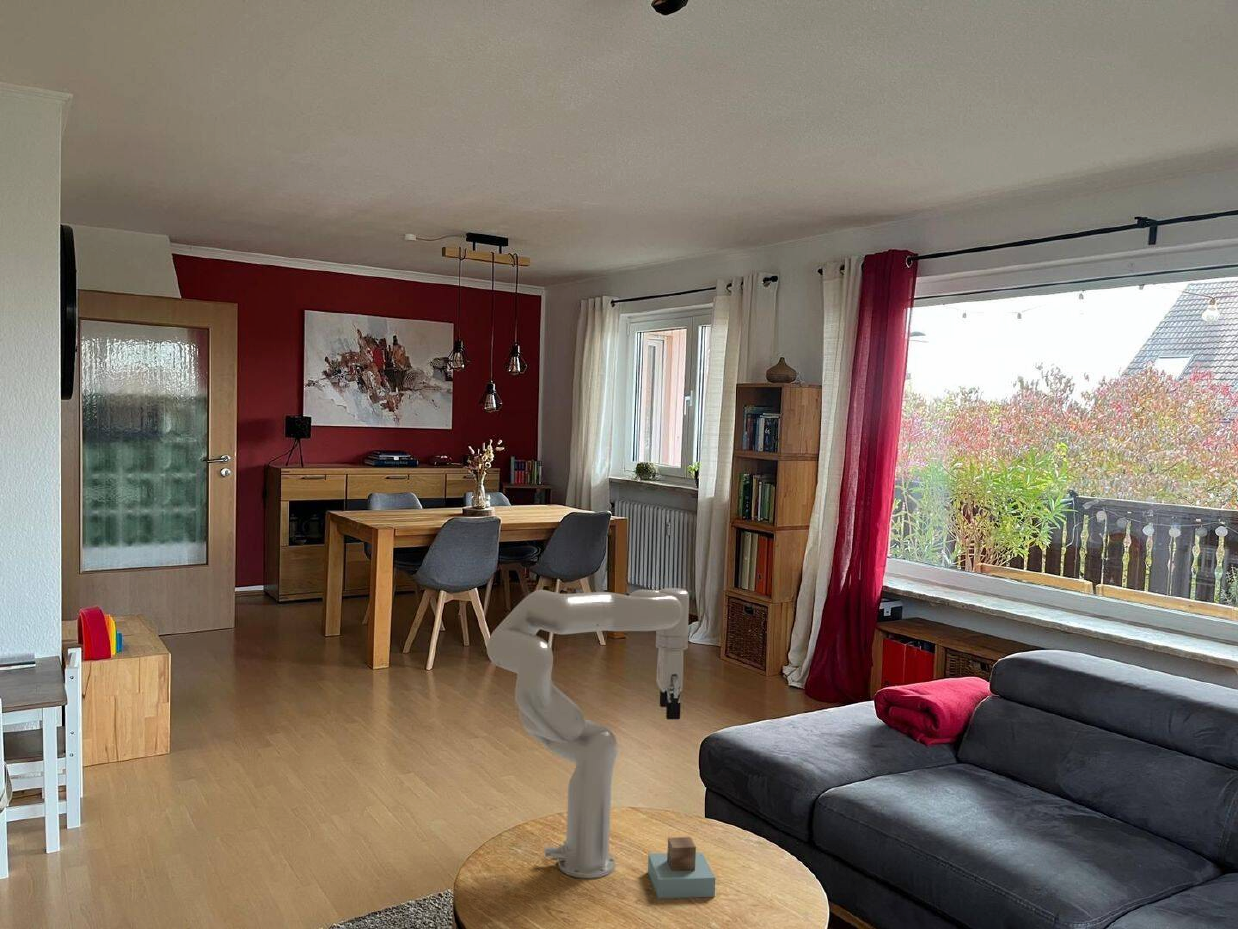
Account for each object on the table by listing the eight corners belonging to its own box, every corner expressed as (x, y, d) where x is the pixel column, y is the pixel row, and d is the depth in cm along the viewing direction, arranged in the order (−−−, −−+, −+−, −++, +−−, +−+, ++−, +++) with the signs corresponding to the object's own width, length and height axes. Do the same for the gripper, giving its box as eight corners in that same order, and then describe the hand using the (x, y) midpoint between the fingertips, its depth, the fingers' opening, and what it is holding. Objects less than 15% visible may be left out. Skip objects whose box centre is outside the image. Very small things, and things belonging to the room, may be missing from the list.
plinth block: (657, 898, 193) (658, 879, 193) (647, 872, 205) (648, 854, 205) (714, 897, 195) (715, 878, 194) (701, 870, 206) (702, 852, 206)
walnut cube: (671, 871, 197) (672, 848, 197) (667, 860, 202) (668, 837, 202) (695, 870, 197) (695, 847, 197) (689, 860, 202) (690, 837, 202)
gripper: (650, 633, 230) (648, 702, 230) (661, 649, 213) (659, 724, 213) (681, 633, 231) (678, 702, 231) (694, 649, 213) (692, 724, 214)
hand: (669, 712), depth 222 cm, fingers open, 9 cm apart
